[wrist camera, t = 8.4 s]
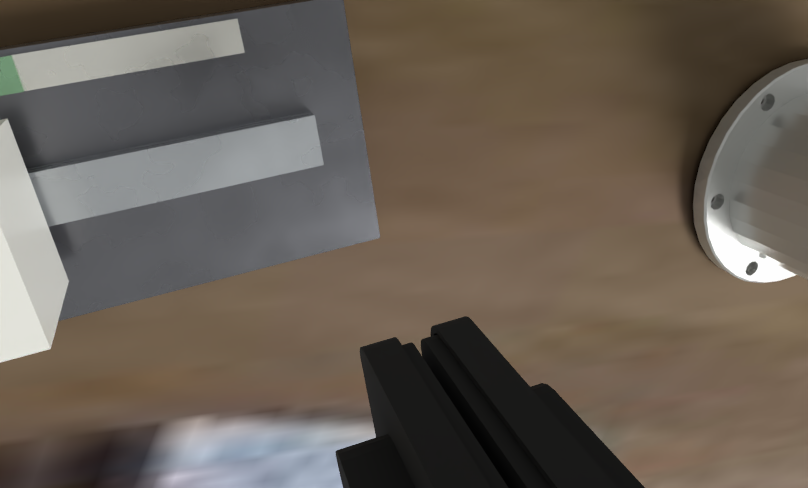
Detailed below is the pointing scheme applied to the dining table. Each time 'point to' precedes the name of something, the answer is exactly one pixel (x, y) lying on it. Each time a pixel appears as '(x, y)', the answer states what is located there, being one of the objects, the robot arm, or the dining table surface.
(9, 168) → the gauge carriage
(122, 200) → the gauge bench
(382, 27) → the dining table surface
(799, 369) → the dining table surface
